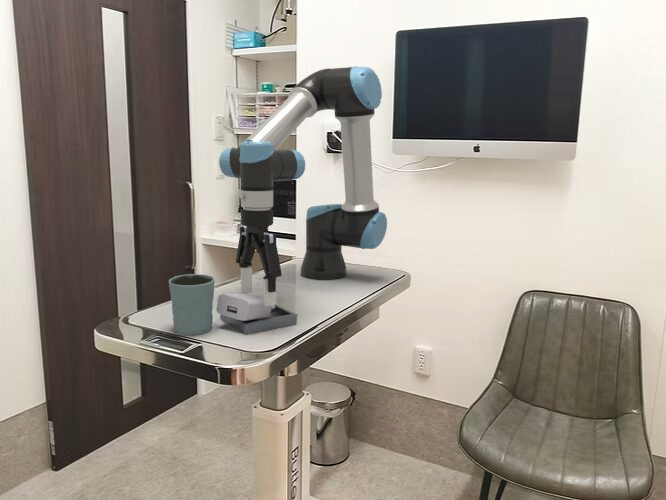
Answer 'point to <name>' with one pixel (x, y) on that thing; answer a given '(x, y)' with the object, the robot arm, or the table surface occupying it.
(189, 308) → the green cup
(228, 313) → the charger
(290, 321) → the gray square tray
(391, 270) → the table surface
